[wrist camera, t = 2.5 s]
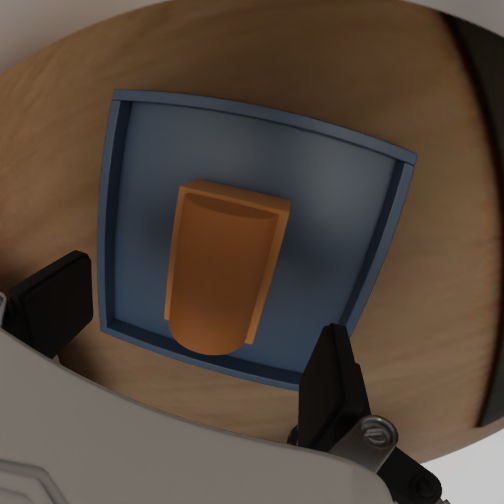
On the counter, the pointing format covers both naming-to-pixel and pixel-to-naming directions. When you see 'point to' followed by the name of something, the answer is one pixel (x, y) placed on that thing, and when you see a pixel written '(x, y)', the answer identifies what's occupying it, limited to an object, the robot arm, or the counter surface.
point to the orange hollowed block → (221, 264)
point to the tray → (254, 179)
